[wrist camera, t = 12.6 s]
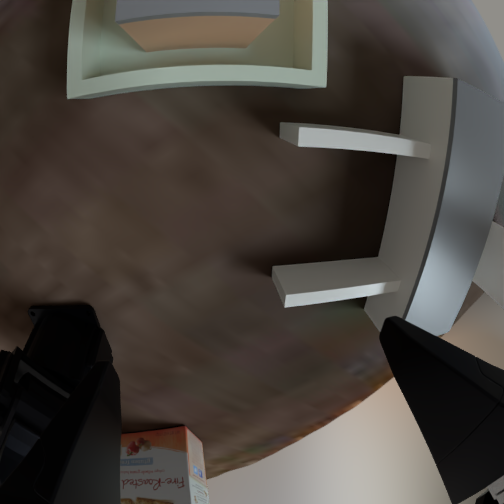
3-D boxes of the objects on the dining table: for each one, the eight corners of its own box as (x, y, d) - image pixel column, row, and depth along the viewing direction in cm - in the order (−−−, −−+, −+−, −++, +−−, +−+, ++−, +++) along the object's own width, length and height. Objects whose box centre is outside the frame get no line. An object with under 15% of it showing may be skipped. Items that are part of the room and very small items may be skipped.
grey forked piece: (462, 97, 17) (511, 107, 12) (418, 298, 27) (448, 331, 22) (282, 52, 14) (317, 35, 10) (268, 323, 24) (285, 373, 19)
